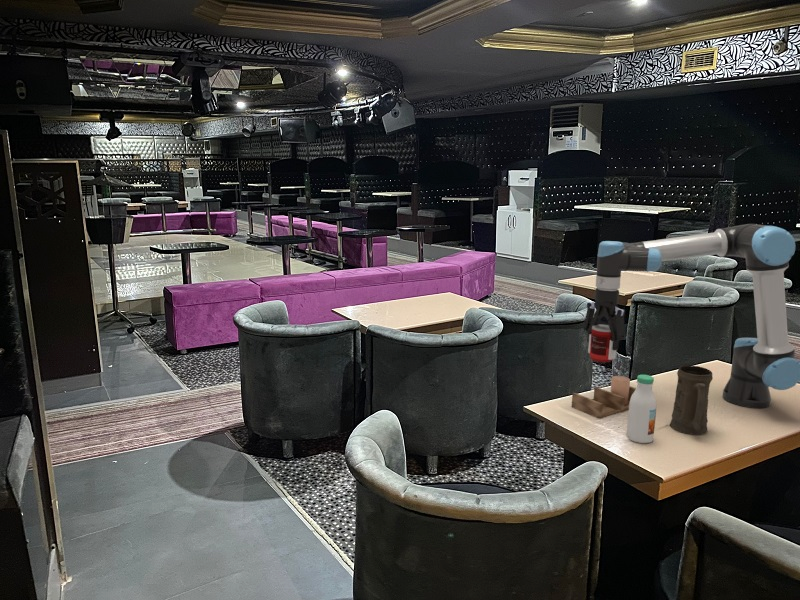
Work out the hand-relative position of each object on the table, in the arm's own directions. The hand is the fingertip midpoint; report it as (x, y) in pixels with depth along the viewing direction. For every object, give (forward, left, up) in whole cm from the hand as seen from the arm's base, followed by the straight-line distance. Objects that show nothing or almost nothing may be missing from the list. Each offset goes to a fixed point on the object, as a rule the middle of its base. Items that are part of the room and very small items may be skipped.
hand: (601, 355), depth 198 cm
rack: (0, -5, -20) cm, 21 cm away
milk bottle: (-21, +6, -20) cm, 30 cm away
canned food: (0, 0, -1) cm, 1 cm away
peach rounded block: (0, -11, -19) cm, 22 cm away
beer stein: (-26, -13, -20) cm, 36 cm away
